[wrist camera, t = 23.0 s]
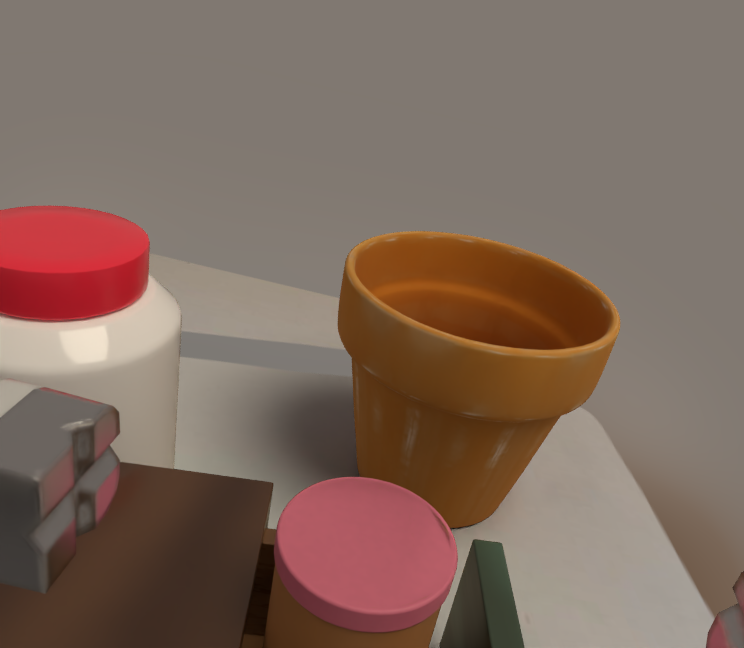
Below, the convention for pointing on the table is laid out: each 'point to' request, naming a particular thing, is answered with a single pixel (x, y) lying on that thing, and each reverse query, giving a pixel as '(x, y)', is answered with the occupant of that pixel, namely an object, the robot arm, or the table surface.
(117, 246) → the pill bottle
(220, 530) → the cabinet
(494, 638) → the drawer
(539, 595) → the table surface
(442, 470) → the flower pot
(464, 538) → the table surface
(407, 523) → the pink-rimmed cylinder
